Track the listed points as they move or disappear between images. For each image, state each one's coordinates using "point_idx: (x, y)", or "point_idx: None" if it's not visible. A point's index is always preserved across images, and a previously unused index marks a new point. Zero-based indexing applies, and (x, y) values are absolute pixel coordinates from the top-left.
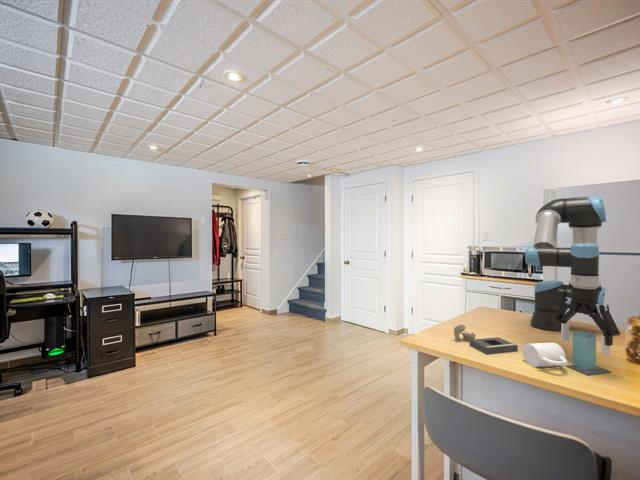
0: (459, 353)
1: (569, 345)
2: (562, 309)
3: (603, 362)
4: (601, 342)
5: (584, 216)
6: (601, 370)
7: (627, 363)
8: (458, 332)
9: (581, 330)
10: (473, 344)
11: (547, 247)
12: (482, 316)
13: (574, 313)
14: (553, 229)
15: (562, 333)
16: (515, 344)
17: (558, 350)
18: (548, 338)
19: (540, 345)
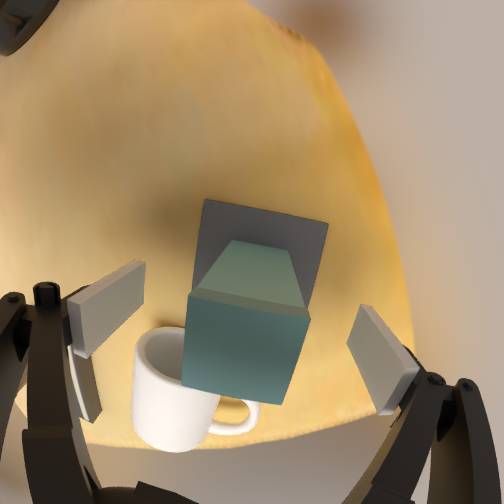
0: (88, 431)
1: (100, 71)
2: (6, 424)
3: (255, 125)
4: (365, 381)
5: None
6: (306, 249)
7: (301, 56)
8: (17, 392)
9: (189, 311)
10: None
11: None
12: None
13: (77, 429)
14: None
15: (118, 322)
16: (69, 346)
17: (208, 401)
18: (44, 85)
19: (172, 438)
